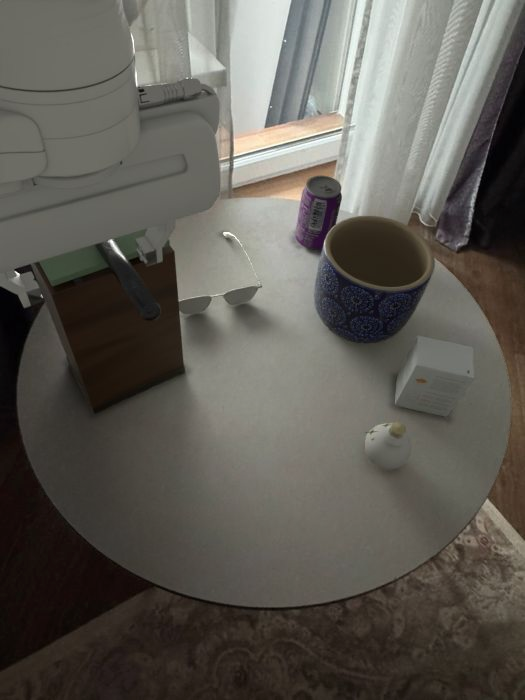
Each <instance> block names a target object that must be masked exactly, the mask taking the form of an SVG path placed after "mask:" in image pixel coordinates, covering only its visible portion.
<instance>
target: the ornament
mask: <svg viewBox="0 0 525 700" xmlns="http://www.w3.org/2000/svg"><path fill="white" fill-rule="evenodd" d="M364 433H365V434H366V436H365V439H364V451H365V455H366V456H367V459H368V460H369V461H370V462H371V463H372V464H373V465H375V467H378V468H380V469H383V470H394V469H398V468H400V467H402V466H403V465H404V464H405V463H407V461H408V460H409V458H410V456H411V452H412V442H411V439H410V436H409V435H408V433H407V429H406V426H405V424H404V423H403V422H400V421H394V422H391V423H389V422H387V423H381V424H377V425H375V426H374V427H372V428H371V429H370V430H369V431H366V432H364Z"/></svg>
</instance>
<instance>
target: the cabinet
mask: <svg viewBox="0 0 525 700" xmlns="http://www.w3.org/2000/svg"><path fill="white" fill-rule="evenodd" d="M162 255H163V261H162V262H160V263H157V264H154V265H151V266H147V267H145V266H144V265H143V261H140V259H139V257H136V258H133V259H130V260H129V262H130V263H131V265H132V266H133V268H134V269H135V270H136V272H137V273H138V275H139V276H140V278H141V279H142V281H143V282H144V284H145V285H146V286H147V288H148V289H149V291H150V292H151V294H152V295H153V297H154V298H155V300H156V301H157V302H158V304H159V305H160V308H161V314H160V316H159V317H158V318H157V319H156V320H154V321H147V320H145V319H143V318H142V317H141V315H140V314H139V312H138V311H137V309H136V307H135V306H134V304H133V303H132V301H131V300H130V298H129V297H128V295H127V294H126V292H125V291H124V289H123V288H122V286H121V284H120V283H119V281H118V280H117V278H116V277H115V275H114V274H113V272H112V271H111V269H110V268H109V267H107V268H104V269H101V270H98V271H96V272H93V273H90V274H87V275H84V276H81V277H78V278H75V279H73V280H70V281H67V282H64V283H61V284H58V285H55V286H52V285H51V283H50V281H49V279H48V278H47V276H46V274H45V272H44V270H43V268H42V267H41V265H40V263H39V262H36V263H32V264H30V266H31V268H32V271H33V273H34V274H33V275H34V277H35V280H36V281H37V283H38V285H39V287H40V290H41V293H42V296H43V299H44V303H45V304H46V308H47V310H48V312H49V315H50V317H51V320H52V323H53V325H54V328H55V331H56V333H57V336H58V338H59V341H60V343H61V346H62V348H63V351H64V354H65V356H66V361H67V363H68V365H69V367H70V370H71V371H72V373H73V375H74V377H75V379H76V381H77V383H78V384H79V387H80V389H81V390H82V393H83V394H84V396H85V398H86V400H87V402H88V404H89V406H90V408H91V410H92V412H93V414H94V415H96V414H98V413H100V412H103V411H104V410H106V409H110V408H111V407H113V406H116V405H118V404H119V403H122V402H125V401H126V400H128V399H130V398H133V397H135V396H137V395H139V394H142V393H144V392H145V391H148V390H151V389H152V388H154V387H157V386H159V385H161V384H163V383H165V382H168V381H170V380H172V379H174V378H176V377H178V376H180V375H182V374H185V373H186V366H185V365H184V350H183V338H182V325H181V314H180V313H181V312H180V311H179V300H180V299H179V289H178V277H177V276H178V275H177V266H176V252H175V250H174V249H173V247H172V246H171V245H170V246H167V247H164V248H162Z"/></svg>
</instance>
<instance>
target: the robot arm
mask: <svg viewBox="0 0 525 700" xmlns="http://www.w3.org/2000/svg"><path fill="white" fill-rule="evenodd" d="M220 108H221V105H220V99H219V96H218V94H217V92H216V91H215V89H214V88H213V87H211V86H210V85H208V84H205V83H201V81H200V80H199V79H198V78H194V77H189V78H188V77H186V78H182V79H178V80H177V81H175V82H170V83H156V84H155V83H154V84H148V85H143V86H142V85H141V86H138V79H137V65H136V54H135V43H134V37H133V33H132V30H131V28H130V25H129V22H128V19H127V16H126V12H125V9H124V3H123V0H0V287H1V288H3V289H5V290H7V291H9V292H10V293H12V294H15V295H17V297H18V299H19V301H20V303H21V305H22V307H23V308H24V309H26V308H29V307H31V306H34V305H35V306H36V305H38V304H41V303H43V302H45V300H44V297H43V294H42V292H41V289H40V287H39V284H38V282H37V279H36V276H35V274H33V272H32V271H31V270H30V271H27V272H24V273H18V272H17V271H16V269H19V268H22V267H25V266H26V267H27V266H29V265H31V264H32V263H36V262H39V261H42V260H45V259H49V258H52V257H55V256H59V255H62V254H65V253H68V252H72V251H75V250H78V249H82V248H85V247H88V246H92V245H95V244H98V243H101V242H105V241H108V240H111V239H115V238H118V237H121V236H124V235H128V234H131V233H134V232H138V231H141V230H144V229H147V228H148V229H147V231H146V233H145V236H143V237H140V238H137V239H135V242H136V246H137V249H136V251H137V255H138V257H139V259H140V261H143V265H144V266H145V267H147V266H151V265H154V264H157V263H160V262H162V261H163V255H162V247H164V245H165V244H166V242H167V241H168V239H169V240H170V237H171V235H172V234H173V233H174V231H175V229H176V221H177V220H180V219H183V218H186V217H190V216H194V215H196V214H197V215H198V214H200V213H203V212H207V211H209V210H211V209H212V208H213V206H214V205H215V203H216V202H217V201H218V199H219V198H220V196H221V195H220V194H221V169H220V158H219V149H218V143H217V138H216V137H217V136H216V134H217V132H218V129H219V125H220V110H221V109H220Z"/></svg>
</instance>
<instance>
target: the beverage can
mask: <svg viewBox="0 0 525 700" xmlns="http://www.w3.org/2000/svg"><path fill="white" fill-rule="evenodd" d="M342 200H343V194H342V185H341V183H340V182H339V181H338V180H337V179H335V178H333V177H332V176H329V175H314V176H311V177H309V178H308V179H307V180H306V183H305V186H304V187H303V189H302V191H301V195H300V202H299V208H298V216H297V222H296V227H295V234H294V237H295V239H296V241H297V242H298V244H299V245H301V246H302V247H305V248H308V249H311V250H312V249H313V250H322V247H323V244H324V241H325V237H326V235H327V233H328V232H329V230H330V229H331V228H332V227H333V226H334V225H336V224H337V221H338V217H339V213H340V209H341V204H342Z"/></svg>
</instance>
